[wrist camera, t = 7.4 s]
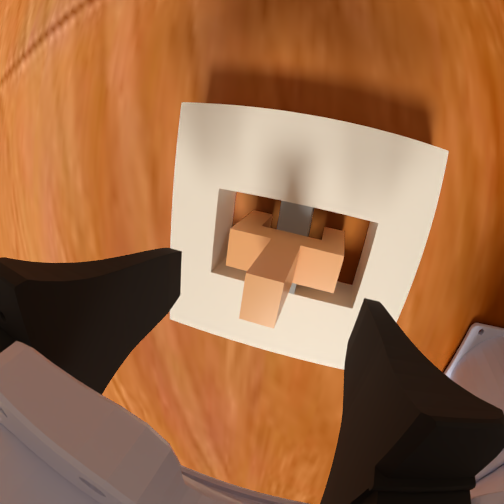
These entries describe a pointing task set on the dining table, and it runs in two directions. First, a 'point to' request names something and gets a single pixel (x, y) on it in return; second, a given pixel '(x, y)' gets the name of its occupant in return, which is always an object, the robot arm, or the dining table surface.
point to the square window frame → (297, 217)
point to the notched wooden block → (280, 264)
